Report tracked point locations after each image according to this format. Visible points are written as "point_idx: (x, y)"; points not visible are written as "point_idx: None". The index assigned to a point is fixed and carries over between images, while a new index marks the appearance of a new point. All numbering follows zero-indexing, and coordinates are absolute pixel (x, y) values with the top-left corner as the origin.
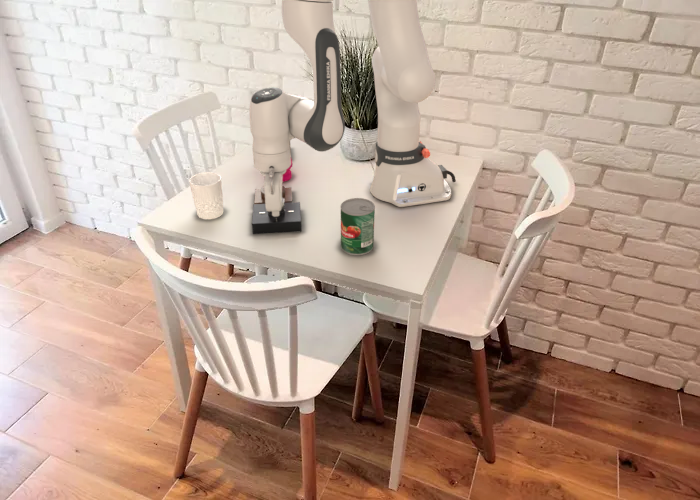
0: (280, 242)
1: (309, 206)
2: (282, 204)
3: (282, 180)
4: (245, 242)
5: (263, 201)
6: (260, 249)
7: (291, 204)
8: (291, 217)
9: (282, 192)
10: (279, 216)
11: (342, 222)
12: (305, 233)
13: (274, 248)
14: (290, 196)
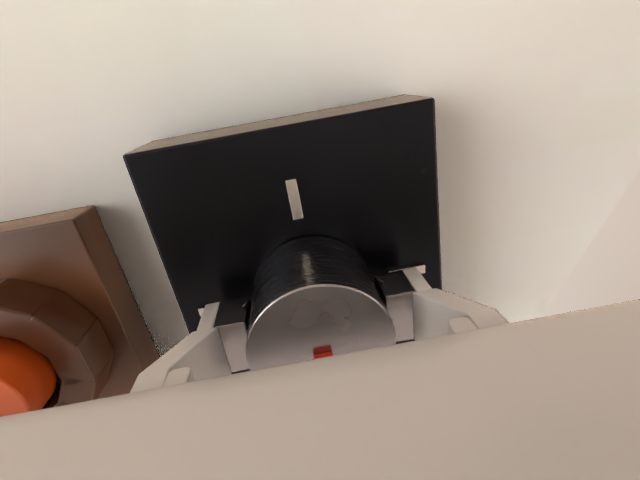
0: (508, 200)
1: (50, 83)
2: (360, 283)
3: (78, 422)
4: None
5: (133, 380)
6: (555, 279)
7: (181, 213)
8: (375, 180)
9: (23, 312)
10: (365, 261)
11: None
12: (425, 64)
13: (559, 218)
14: (4, 242)
